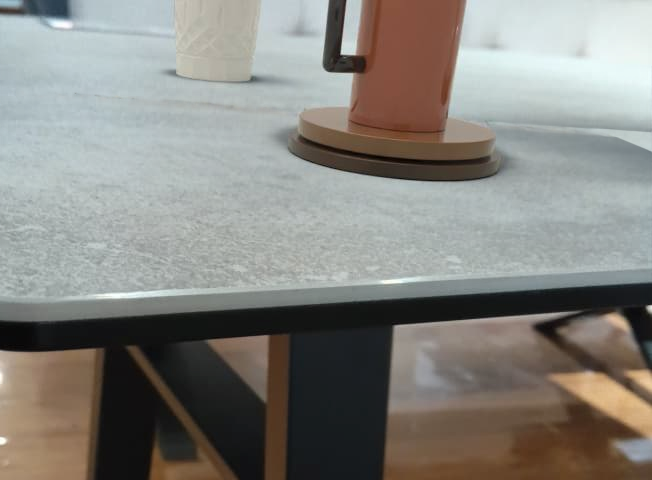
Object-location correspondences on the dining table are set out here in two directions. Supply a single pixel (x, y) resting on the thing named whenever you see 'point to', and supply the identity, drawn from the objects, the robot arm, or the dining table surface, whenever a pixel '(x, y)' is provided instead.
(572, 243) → the dining table surface
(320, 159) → the lazy susan base
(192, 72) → the white cup
